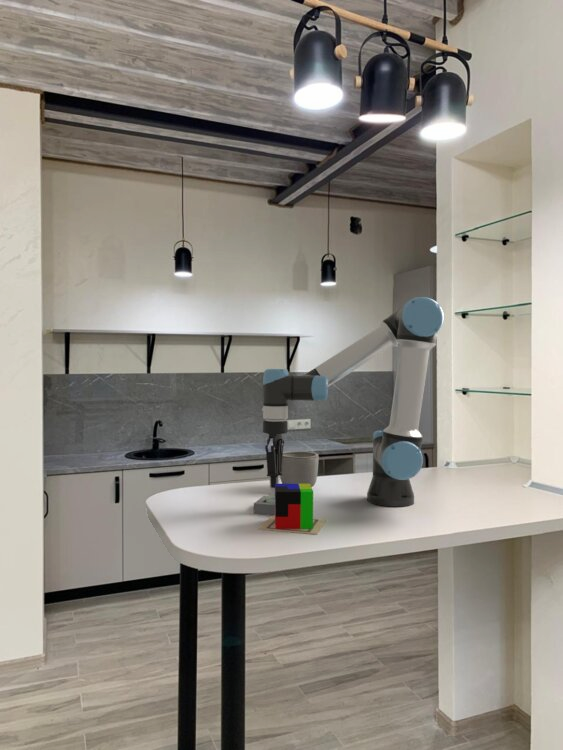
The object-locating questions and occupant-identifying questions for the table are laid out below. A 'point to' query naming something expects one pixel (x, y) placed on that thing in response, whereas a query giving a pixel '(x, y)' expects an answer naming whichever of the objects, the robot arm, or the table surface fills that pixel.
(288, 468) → the planter
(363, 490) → the table surface
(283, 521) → the puzzle toy
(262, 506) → the button box
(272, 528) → the sheet
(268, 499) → the button
